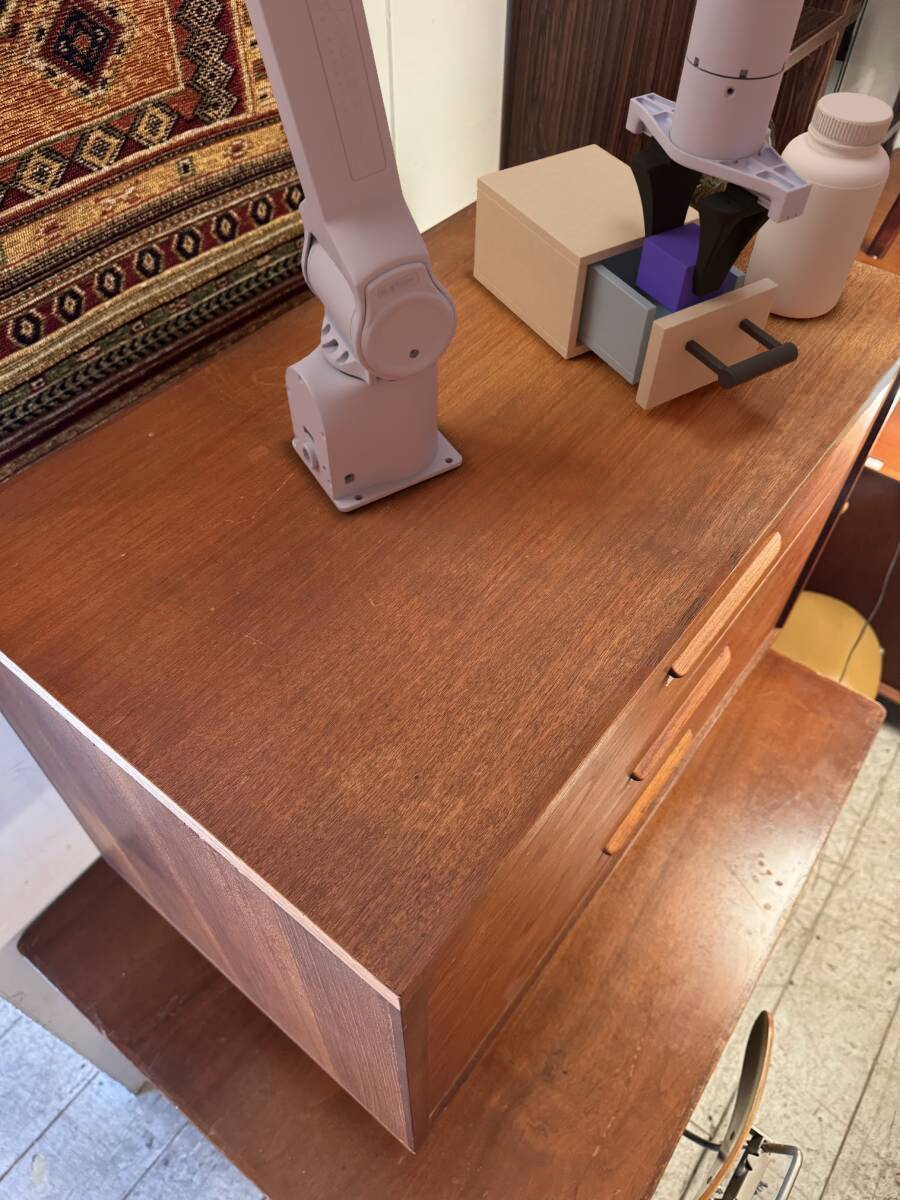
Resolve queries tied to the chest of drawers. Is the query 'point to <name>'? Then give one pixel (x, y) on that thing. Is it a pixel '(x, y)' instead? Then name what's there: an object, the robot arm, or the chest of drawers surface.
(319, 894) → the chest of drawers surface
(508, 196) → the drawer cabinet
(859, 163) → the pill bottle
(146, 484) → the chest of drawers surface
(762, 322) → the drawer
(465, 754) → the chest of drawers surface
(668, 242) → the violet cube
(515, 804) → the chest of drawers surface
